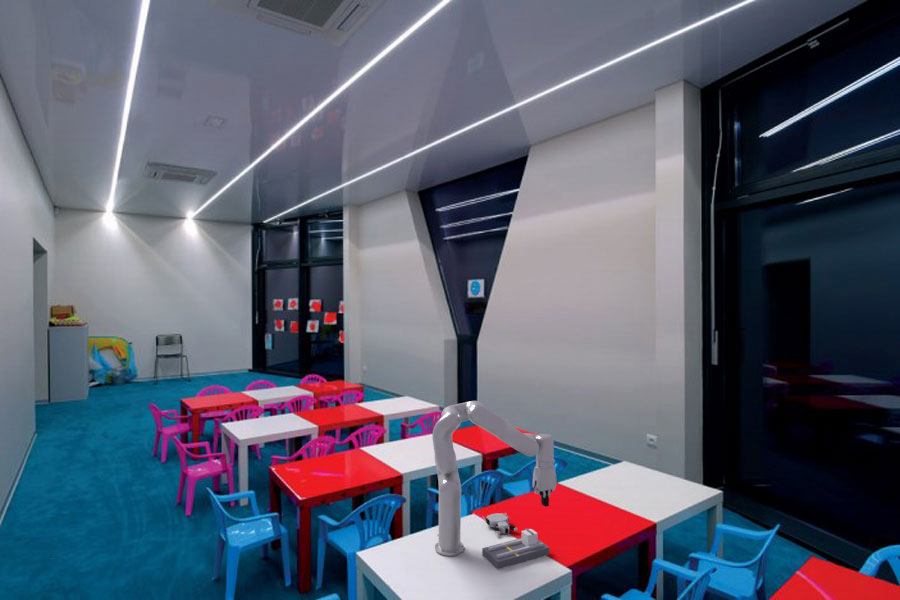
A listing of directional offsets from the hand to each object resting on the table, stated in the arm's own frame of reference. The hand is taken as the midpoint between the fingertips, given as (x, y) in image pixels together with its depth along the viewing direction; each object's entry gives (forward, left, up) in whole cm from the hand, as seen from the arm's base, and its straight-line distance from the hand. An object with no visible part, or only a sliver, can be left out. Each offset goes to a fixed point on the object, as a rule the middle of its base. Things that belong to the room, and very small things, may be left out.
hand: (545, 505), depth 208 cm
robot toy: (-23, -8, -19) cm, 31 cm away
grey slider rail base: (0, -15, -18) cm, 24 cm away
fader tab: (0, -8, -15) cm, 17 cm away
